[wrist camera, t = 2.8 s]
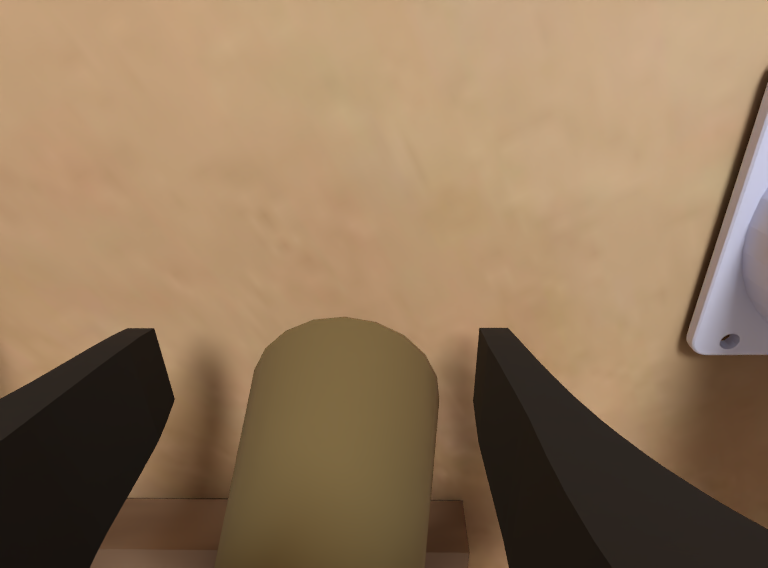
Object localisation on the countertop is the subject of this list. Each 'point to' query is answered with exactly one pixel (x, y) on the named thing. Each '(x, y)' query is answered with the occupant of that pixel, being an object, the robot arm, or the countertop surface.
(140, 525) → the walnut plinth
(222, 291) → the countertop surface
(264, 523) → the olive pawn piece
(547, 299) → the countertop surface
